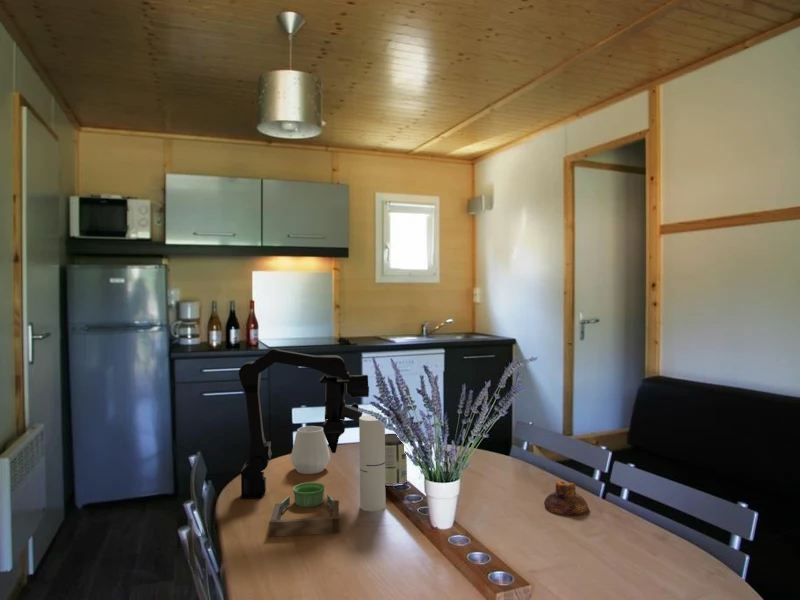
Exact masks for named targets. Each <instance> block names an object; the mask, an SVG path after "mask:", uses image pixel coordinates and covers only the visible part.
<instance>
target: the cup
mask: <svg viewBox="0 0 800 600" xmlns="http://www.w3.org/2000/svg"><path fill="white" fill-rule="evenodd" d="M293 442H294V443H293V445H292V446H293V447H292V450H291V455H290V461H291V464H292V465H293V467H294V468H295V471H296V472H297V473H299V474H304V475H313V474H318V473H322V472H323V471H324V470H325V469H326V467H327V465H328V463H329V462H330V459H331V451H330V450H329V449H330V448H329V444H328V442H327V439H326V437H325V434H324V432H323V427H322V426H319V425H318V426H316V425H306V426H302V427H299V428H297V429H296V433H295V438H294V441H293Z"/></svg>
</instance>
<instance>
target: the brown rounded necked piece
mask: <svg viewBox="0 0 800 600" xmlns="http://www.w3.org/2000/svg"><path fill="white" fill-rule="evenodd" d="M543 505H544V508H545V509H546V510H547V511H548V512H551V513H552V514H556V515H561V516H566V517H567V516H570V517H576V516H577V517H579V516H582V515H585V514H587V512H588V510H589V505H588V503H587V501H586V500H585V498H584V497H583V496H581V495H580V494H578V493H577V492H576V484H575V483H574V482H568V483H565V482H564V481H563V480H558V481H556V483H555V491H554V492H551V493H550V494H548V495H547V496H546V497H545V499H544V502H543Z"/></svg>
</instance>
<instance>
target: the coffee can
mask: <svg viewBox="0 0 800 600" xmlns="http://www.w3.org/2000/svg"><path fill="white" fill-rule="evenodd" d="M396 434H397V433H385V484H393V483H399V482H405V481H407V482H408V473H407V472H408V468H407V466H408V464H407V463H408V461H407V458H408V457H407V456H408V455H407V456H406V454H405V453H404V444H403V443H402V442H401V441H400V440H399V438H398V437H397V435H396Z"/></svg>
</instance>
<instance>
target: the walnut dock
mask: <svg viewBox="0 0 800 600" xmlns="http://www.w3.org/2000/svg"><path fill="white" fill-rule="evenodd" d="M281 503H282V502H280V503H274V506H273V510H272V513H271V516H270V520H269V521H268V522H269V523H268V524H269V537H270V538H271V537H274V538H275V537H285V536H286V537H289V536H306V535H308V536H309V535H324V534H325V535H326V534H339V533H340V506H339V505H340V504H339V503H340V500H335V501H333V512H332V516H324V517H321V516H320V517H308V518H307V517H304V518H302V517H301V518H289V519H288V518H287V519H286V518H285V519H281V518H282V515H281Z"/></svg>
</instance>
